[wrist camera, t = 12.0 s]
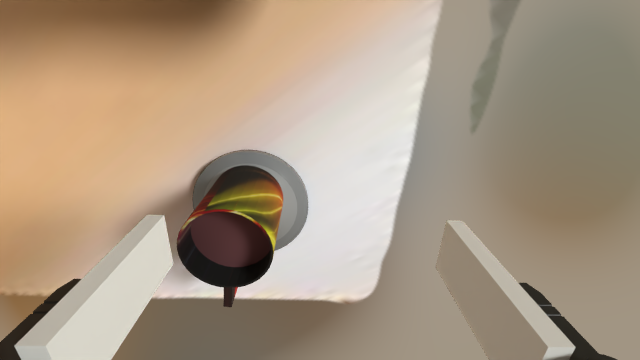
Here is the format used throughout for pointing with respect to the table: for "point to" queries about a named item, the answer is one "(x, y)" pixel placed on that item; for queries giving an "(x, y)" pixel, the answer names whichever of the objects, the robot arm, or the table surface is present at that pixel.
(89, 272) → the robot arm
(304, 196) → the plate
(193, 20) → the table surface
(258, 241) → the mug
